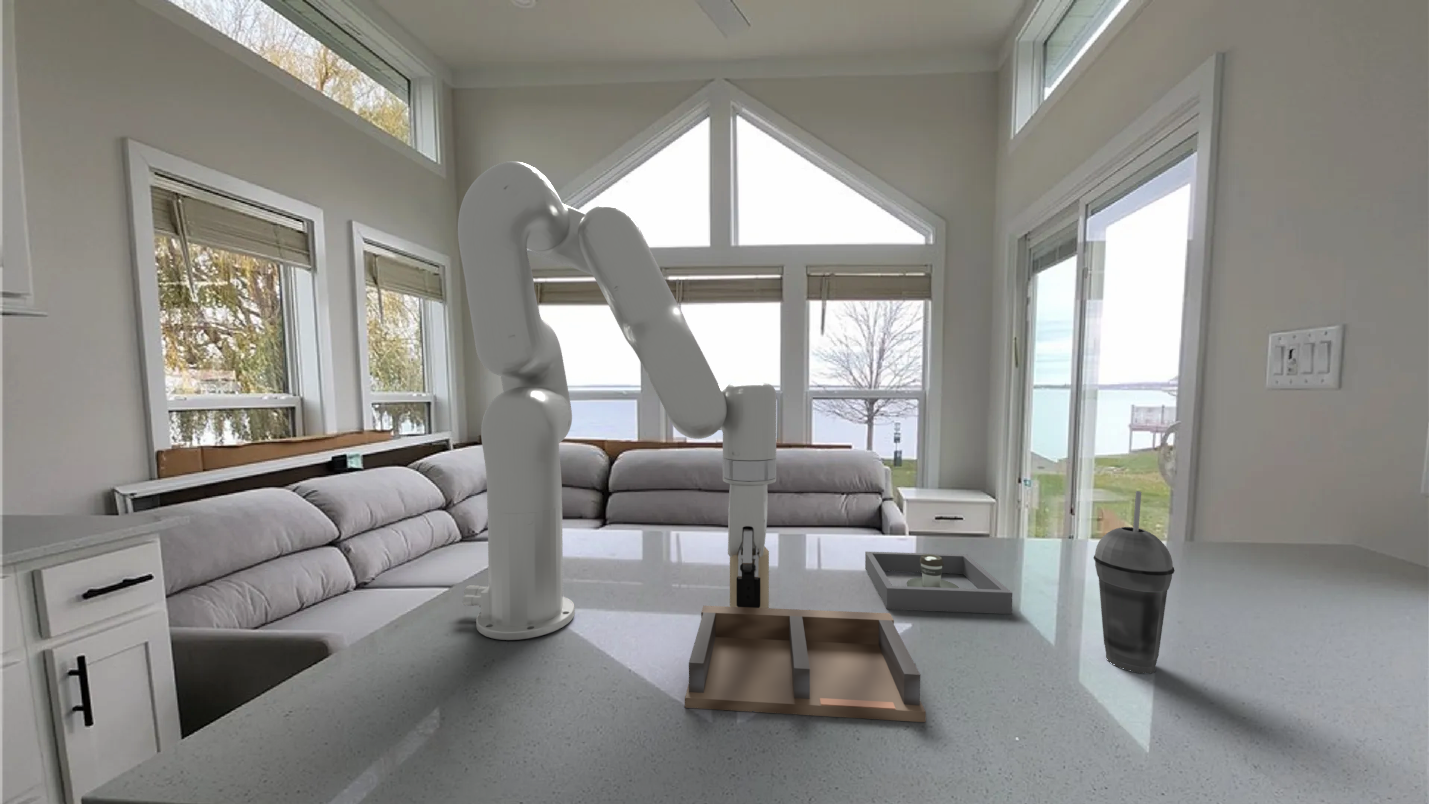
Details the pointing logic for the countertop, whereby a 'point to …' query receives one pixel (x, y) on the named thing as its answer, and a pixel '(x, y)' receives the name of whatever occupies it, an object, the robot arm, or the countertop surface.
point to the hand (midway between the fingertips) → (749, 596)
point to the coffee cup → (931, 573)
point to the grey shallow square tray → (979, 600)
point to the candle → (762, 573)
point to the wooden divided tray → (803, 664)
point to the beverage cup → (1133, 594)
